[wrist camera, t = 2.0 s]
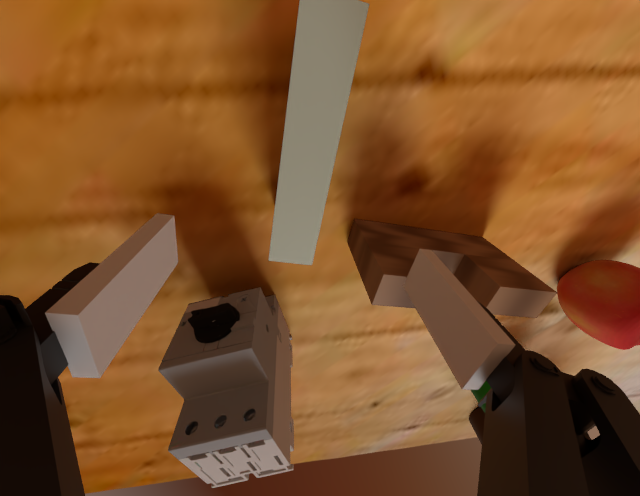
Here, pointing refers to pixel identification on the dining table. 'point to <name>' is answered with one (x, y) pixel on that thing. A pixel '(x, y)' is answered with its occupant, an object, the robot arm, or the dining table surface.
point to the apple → (604, 301)
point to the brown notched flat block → (457, 255)
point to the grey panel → (314, 121)
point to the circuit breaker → (232, 388)
